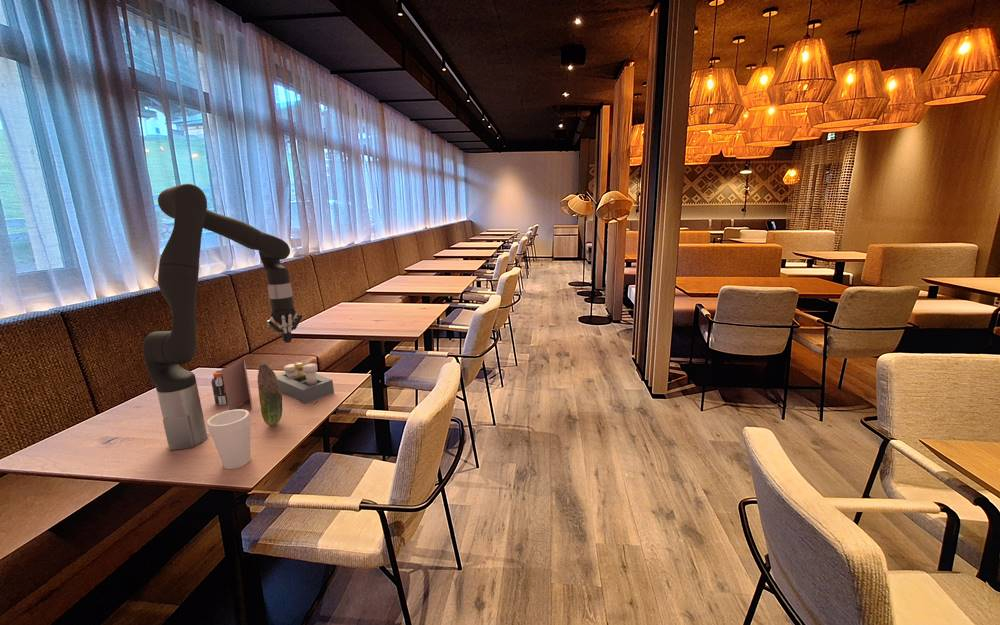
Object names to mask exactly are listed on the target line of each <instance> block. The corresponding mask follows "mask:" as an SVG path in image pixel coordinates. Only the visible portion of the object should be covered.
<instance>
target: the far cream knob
mask: <svg viewBox="0 0 1000 625" xmlns="http://www.w3.org/2000/svg"><path fill="white" fill-rule="evenodd" d="M294 364H295V363H289V364H286V365H284V366H283V369H284V370H283V371H284V373H287V377H288V378H291V377H294V376H297V370H296V369H295V366H294Z"/></svg>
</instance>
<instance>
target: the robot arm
mask: <svg viewBox="0 0 1000 625" xmlns="http://www.w3.org/2000/svg"><path fill="white" fill-rule="evenodd" d="M157 203H158V207H159V209H160V210H161V211H162V212H163V213H164V214H165V215H166V216H168V217H170V218H172V219H173V221H174V222H173V229H172V232H171V234H170V236H169V238H168V240H167V242H166V244H165V247H164V248H163V251H162V253H161V255H160V258H159V263H158V272H157V284H158V287H159V290H160V291H161V294H162V296H163V297H164V299H165V301H166V303H167V304H168V306H169V308H170V312H171V316H172V318H171V319H172V320H171V321H172V322H171V323H172V325H171V330H162V331H161V330H160V331H159V330H158V331H152V332H150V333H149V334H148V335H146V337H145V338H144V340H143V343H142V354H143V359H144V363H145V366H146V370H147V372H148V375H149V379H150V381H151V383H152V384H153V385H154V386H155V389H156V393H157V398H158V403H159V407H160V410H161V416H162V423H163V428H164V433H165V437H166V441H167V445H168V451H176V450H177V451H178V450H185V449H193V448H195V446H197V445H199V444H202V443H203V442H205V440H207V439H208V433H207V432H208V431H207V427H206V422H205V419H204V418H205V417H204V412H203V408H202V403H201V398H200V394H199V389H198V384H197V379H196V375H195V374H194V372H192V371H190V370H188V369H185V368H183V367H182V366H180V365H184V364H185V365H186V364H188V363H190V362H191V361H192V360H193V359H194V357H195V355H196V351H197V342H198V340H197V316H196V314H197V313H196V312H197V310H196V309H197V292H198V283H199V272H200V257H201V256H200V255H201V246H202V243H201V242H202V235H203V229H205V230H208V231H210V232H212V233H215V234H218V235H220V236H222V237H224V238H226V239H228V240H230V241H233V242H235V243H236V244H239V245H241V246H242V247H245V248H247V249H249V250H254V251H258V254H259V259H260V261H261V264H262V266H263V269H264V270H265V273H266V277H267V286H268V289H267V290H268V291H267V292H268V298H269V303H270V309H271V313H270V318H269V319H267V320H265V324H266V325H268V326H269V327H270V328H271V329H272V330H273V331H275V332H276V333H279V334H281V340H282V342H284V343H285V344H289V343H291V342H292V340H293V336H292V332H293V331H294V330H296V329H297V327H298V325H299V323H300V322H301V320H302V319H303V315H302V314H300V313H298V312H297V311H296V310H295V304H294V294H293V289H292V284H291V281H290V279H291V278H290V273H289V269H288V268H287V267H286V266H284V265H282V262H281V260H282V261H283V260H285V259H287V258H288V257H289V256H290V253H291V249H290V246H289V244H288V243H287V242H286V241H285V240H283V239H282V238H279V237H277V236H275V235H271V234H270V233H266V232H263V231H261V230H260V229H257V227H254V226H253V225H250V224H249V223H247V222H244V221H242V220H240V219H237V218H233V217H230V216H227V215H223V214H220V213H217V212H214V211H212V210H210V209H208V200H207V196H206V194H205V192H204V191H203V190H202V189H201V187H199V186H197V185H196V184H193V183H182V184H178V185H175V186H174V185H173V186H172V187H169V188H166V189H164V190H163V191H161V192H160V193H159V195H158V196H157ZM276 323H277V324H278V325H277V324H276Z"/></svg>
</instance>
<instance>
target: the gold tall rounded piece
mask: <svg viewBox="0 0 1000 625" xmlns="http://www.w3.org/2000/svg"><path fill="white" fill-rule="evenodd" d="M293 364H294V366H295V369H296V370H297V374H298V380H299V382H301V381H303V380H306V378H305V373H304V372H303V366H304V365H306V362H305V361H298V362H295V363H293Z"/></svg>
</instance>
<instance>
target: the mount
mask: <svg viewBox="0 0 1000 625" xmlns="http://www.w3.org/2000/svg"><path fill="white" fill-rule="evenodd" d="M316 376H317V384H315V385H312V386H307V380H303V381H301V382H299V380H298V374H297V376H294V377H291V378H288V377H287V373H286V372H284V373H280V374H277V375H276V377H277V380H278V383H279V386H280V389H281V394H282V395H285V396H287V397H290V398H291V399H295V400H296V401H297V402H300V403H303V404H305V405H306V404H309V403H311V402H315V401H316V400H320V399H321V398H324V397H326V396H329V395H332V394H335V390H334V389H335V388H334V382H333V379H330V378H328V377H325V376H323V375H321V374H318V373H316ZM305 378H306V373H305Z"/></svg>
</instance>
